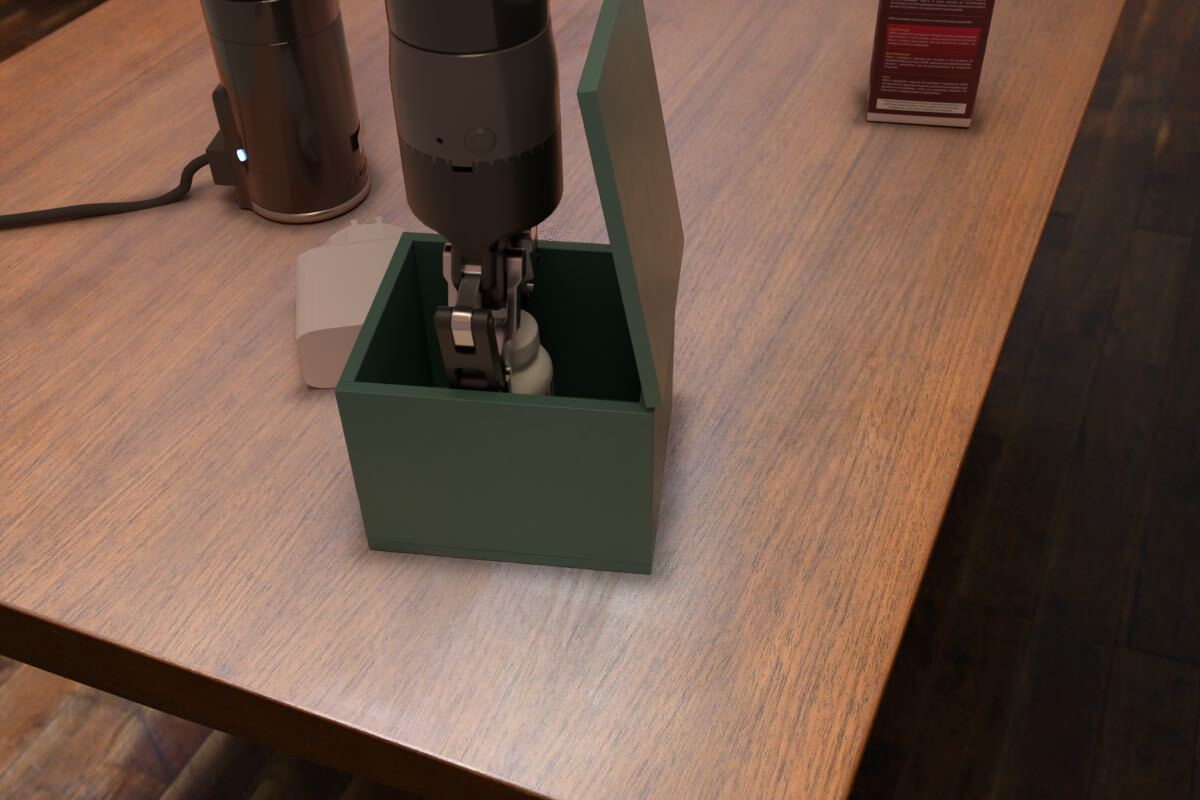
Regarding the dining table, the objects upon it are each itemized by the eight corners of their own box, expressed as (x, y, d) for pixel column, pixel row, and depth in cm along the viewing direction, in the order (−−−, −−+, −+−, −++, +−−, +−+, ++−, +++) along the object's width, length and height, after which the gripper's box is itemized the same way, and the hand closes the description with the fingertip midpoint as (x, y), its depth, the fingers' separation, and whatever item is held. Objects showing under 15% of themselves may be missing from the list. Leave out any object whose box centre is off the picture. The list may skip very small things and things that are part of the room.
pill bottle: (545, 497, 68) (537, 367, 61) (454, 484, 69) (436, 355, 62) (566, 431, 72) (561, 303, 65) (479, 420, 73) (466, 291, 66)
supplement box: (967, 101, 102) (1007, -89, 92) (970, 130, 99) (1011, -65, 88) (863, 93, 103) (890, -95, 93) (862, 122, 100) (890, -71, 89)
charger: (434, 240, 88) (453, 372, 77) (306, 255, 87) (307, 391, 76) (427, 184, 85) (445, 314, 74) (294, 199, 84) (292, 333, 73)
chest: (368, 549, 67) (333, 390, 59) (426, 386, 77) (402, 230, 69) (651, 575, 65) (654, 414, 57) (672, 404, 75) (677, 247, 67)
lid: (575, 92, 46) (596, 90, 46) (617, -50, 56) (634, -52, 56) (646, 408, 57) (662, 407, 57) (670, 241, 67) (684, 240, 67)
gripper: (433, 36, 61) (463, 303, 72) (354, 193, 50) (404, 476, 62) (581, 43, 60) (588, 311, 71) (533, 204, 49) (550, 488, 61)
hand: (503, 386), depth 67 cm, fingers closed on pill bottle, 5 cm apart
